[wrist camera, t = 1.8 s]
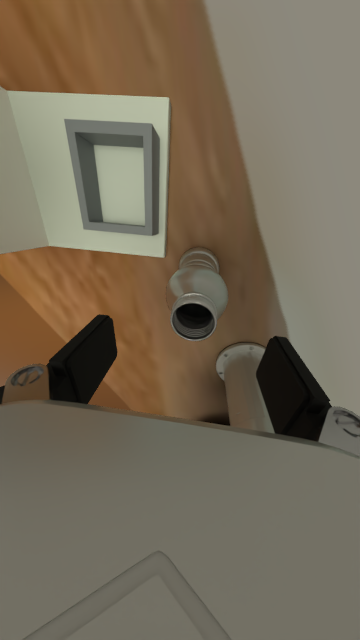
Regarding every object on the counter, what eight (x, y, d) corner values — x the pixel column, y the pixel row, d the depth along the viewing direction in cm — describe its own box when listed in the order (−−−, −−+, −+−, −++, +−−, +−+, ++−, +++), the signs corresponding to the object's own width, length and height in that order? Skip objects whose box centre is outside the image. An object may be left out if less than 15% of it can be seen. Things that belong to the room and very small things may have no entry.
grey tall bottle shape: (196, 236, 29) (184, 260, 11) (226, 263, 30) (256, 320, 13) (173, 267, 32) (135, 323, 14) (201, 290, 33) (198, 366, 16)
